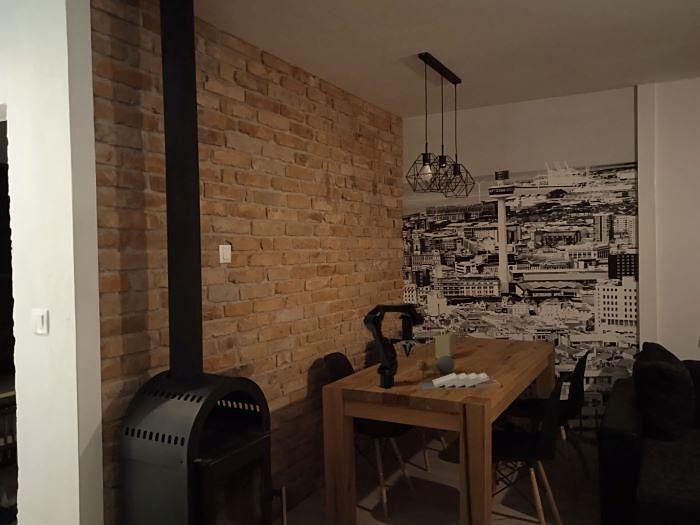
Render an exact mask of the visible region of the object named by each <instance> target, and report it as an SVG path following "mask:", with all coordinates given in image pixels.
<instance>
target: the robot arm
mask: <svg viewBox="0 0 700 525" xmlns="http://www.w3.org/2000/svg"><path fill="white" fill-rule="evenodd" d="M386 313H398V314H400V316H399V317H398V319H399V320H401V329H399V330H397V334H398V335H397V336H398V338H397V337H396V336H394V337H393V336H392V337H389V338H388V343H389V344H390V345H397V344H398V343H399V345H400V346H401V347H402V349H403V350H404V353H405V357H406V358H409V357H410V355H411V350H413V349H412V348H413V346H416V344H415V343H418V344H419V345H426V344H427V339H426V338H425V337H424V336H417V337H416V338H414V334H413V332H414V331H413V330H414V327H418V326H423V325H424V323H425V318H424V316H423V314H422V312H418V311H417V309H416V307H415V305H414V304H413V303H410V302H401V303H397V304H381V303H380V304H377V305H376V306H374V308H371V310H369V311H368V313H367V314H366V315H365V316H364V318H363V324H364V326H365V328H366V329H367V330H368V331H369V332H370V333H371V335H372V337H373V340H374V343H375V345H376V348H377V350H378V353H379V356H380V359H379V360H380V361H379V363H380V364H379V366H378V368H377V369H376V373H377V374H378V375H379V385H377V386H378V387H379V388H382V389H386V390H387V389H391V388H395V376H397V373H398V372H397V371H398V369H399V368H398V367H399V360H398V359H397V356H396V355H395V354H391V352H390V350H389V347H388V344H387V342H386V339H385V337H384V334H383V332H382V328H383V327H382V326H383V323H382V322H383V320H384V319H385V316H386V315H385V314H386Z"/></svg>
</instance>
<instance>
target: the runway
mask: <svg viewBox="0 0 700 525" xmlns="http://www.w3.org/2000/svg"><path fill="white" fill-rule="evenodd" d="M419 384H420V387H421V389H422V390H423V389H424V390H430V389H431V390H436V389H437V390H445V389H447V390H449V389H451V390H455V389H457V390H458V389H459V390H460V389H462V390H464V389H465V390H467V389H468V390H469V389H480V390H481V389H485V388H476V387H475V386H474V385H472V386H470V387H467V388H466V387H465V385H462V386H459V387H457V388H456V387H455V385H452V386H449V387H445V386H444V385H442V386H439V387H436V388H435V386H434V384H433V382H419Z"/></svg>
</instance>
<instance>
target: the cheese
mask: <svg viewBox="0 0 700 525" xmlns="http://www.w3.org/2000/svg"><path fill="white" fill-rule="evenodd" d="M434 343H435V347H434V348H435V359H436V358H439V357H441V356H443V355H447V356H450V357H451V358H452V357H454V355H455V354H456V334H455V331H449V332H447V333H444V334H439V335H436V336H435V342H434Z"/></svg>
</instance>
